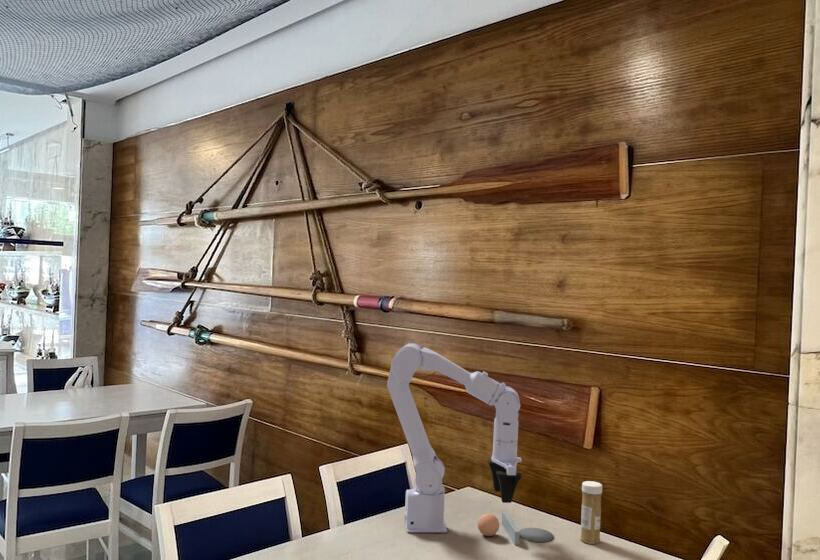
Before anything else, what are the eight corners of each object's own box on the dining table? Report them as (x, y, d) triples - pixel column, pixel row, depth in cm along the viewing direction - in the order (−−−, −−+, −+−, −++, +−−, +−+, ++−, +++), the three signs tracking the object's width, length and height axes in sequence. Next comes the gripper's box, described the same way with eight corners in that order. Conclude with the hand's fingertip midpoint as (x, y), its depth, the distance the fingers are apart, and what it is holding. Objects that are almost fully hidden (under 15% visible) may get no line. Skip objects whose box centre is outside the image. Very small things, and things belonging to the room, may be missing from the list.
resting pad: (523, 542, 152) (523, 541, 152) (515, 528, 160) (515, 527, 160) (557, 542, 153) (557, 541, 153) (547, 529, 161) (547, 527, 161)
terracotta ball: (479, 539, 152) (480, 517, 152) (475, 531, 157) (476, 510, 157) (500, 539, 153) (501, 518, 153) (496, 531, 158) (497, 510, 158)
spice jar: (603, 544, 152) (605, 486, 152) (584, 545, 152) (586, 486, 152) (595, 536, 157) (597, 480, 157) (576, 537, 156) (579, 480, 156)
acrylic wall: (514, 544, 150) (515, 531, 150) (501, 523, 163) (502, 511, 163) (519, 544, 150) (519, 531, 150) (505, 523, 163) (506, 511, 163)
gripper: (530, 447, 150) (527, 507, 150) (514, 432, 164) (511, 486, 164) (499, 447, 149) (497, 507, 149) (486, 431, 164) (483, 486, 164)
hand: (502, 496), depth 157 cm, fingers open, 7 cm apart
